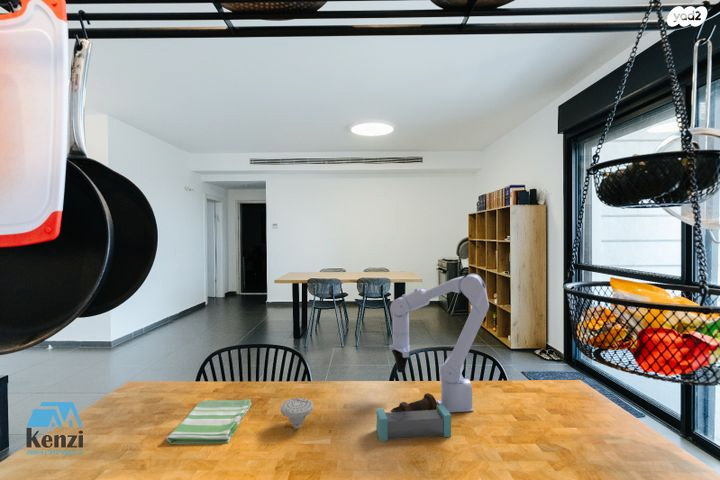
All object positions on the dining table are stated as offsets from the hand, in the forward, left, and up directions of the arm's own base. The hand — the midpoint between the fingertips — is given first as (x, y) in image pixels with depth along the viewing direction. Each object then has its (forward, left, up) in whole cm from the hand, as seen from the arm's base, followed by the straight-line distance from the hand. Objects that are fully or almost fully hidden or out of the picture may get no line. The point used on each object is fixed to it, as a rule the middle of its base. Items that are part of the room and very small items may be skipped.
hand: (400, 371), depth 124 cm
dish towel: (+60, +10, -10) cm, 62 cm away
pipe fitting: (+2, +23, -9) cm, 25 cm away
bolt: (-1, +12, -9) cm, 15 cm away
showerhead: (+35, +16, -9) cm, 39 cm away
